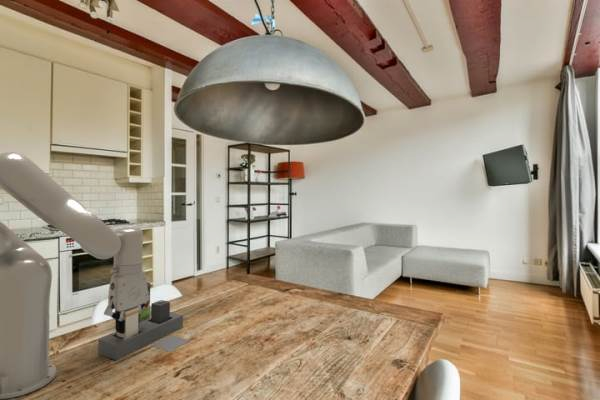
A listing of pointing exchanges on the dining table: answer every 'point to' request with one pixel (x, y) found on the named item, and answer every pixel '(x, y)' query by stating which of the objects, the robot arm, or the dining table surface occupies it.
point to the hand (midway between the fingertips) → (127, 328)
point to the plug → (130, 323)
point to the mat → (171, 343)
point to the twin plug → (160, 311)
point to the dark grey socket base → (138, 337)
